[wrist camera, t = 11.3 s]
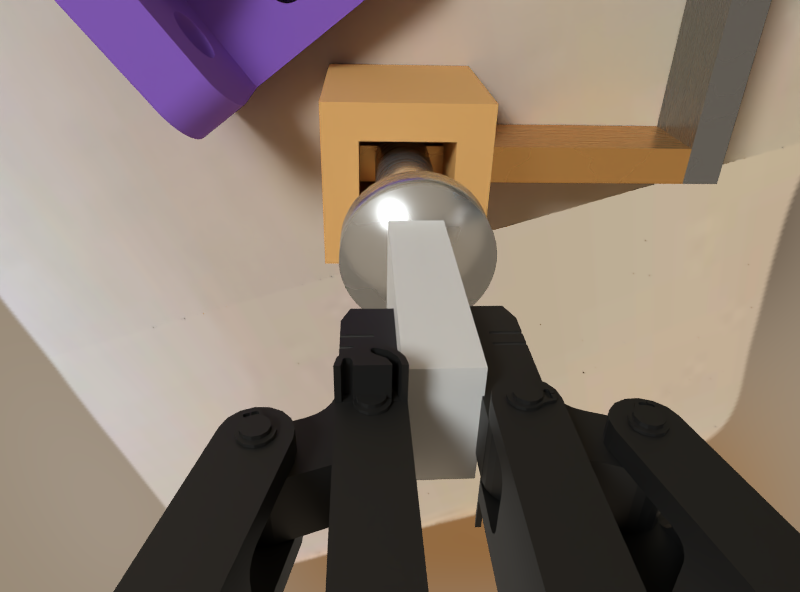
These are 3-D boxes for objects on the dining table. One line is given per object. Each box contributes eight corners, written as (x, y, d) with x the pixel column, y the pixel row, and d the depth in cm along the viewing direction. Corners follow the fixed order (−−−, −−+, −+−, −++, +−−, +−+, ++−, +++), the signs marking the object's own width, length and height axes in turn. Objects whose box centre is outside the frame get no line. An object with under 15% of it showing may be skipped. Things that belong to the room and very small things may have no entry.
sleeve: (468, 66, 27) (498, 104, 21) (458, 196, 30) (482, 263, 24) (329, 63, 26) (318, 102, 20) (333, 196, 29) (325, 263, 23)
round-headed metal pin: (459, 103, 24) (505, 186, 16) (451, 208, 26) (488, 326, 18) (346, 102, 24) (336, 185, 16) (348, 208, 26) (340, 327, 18)
